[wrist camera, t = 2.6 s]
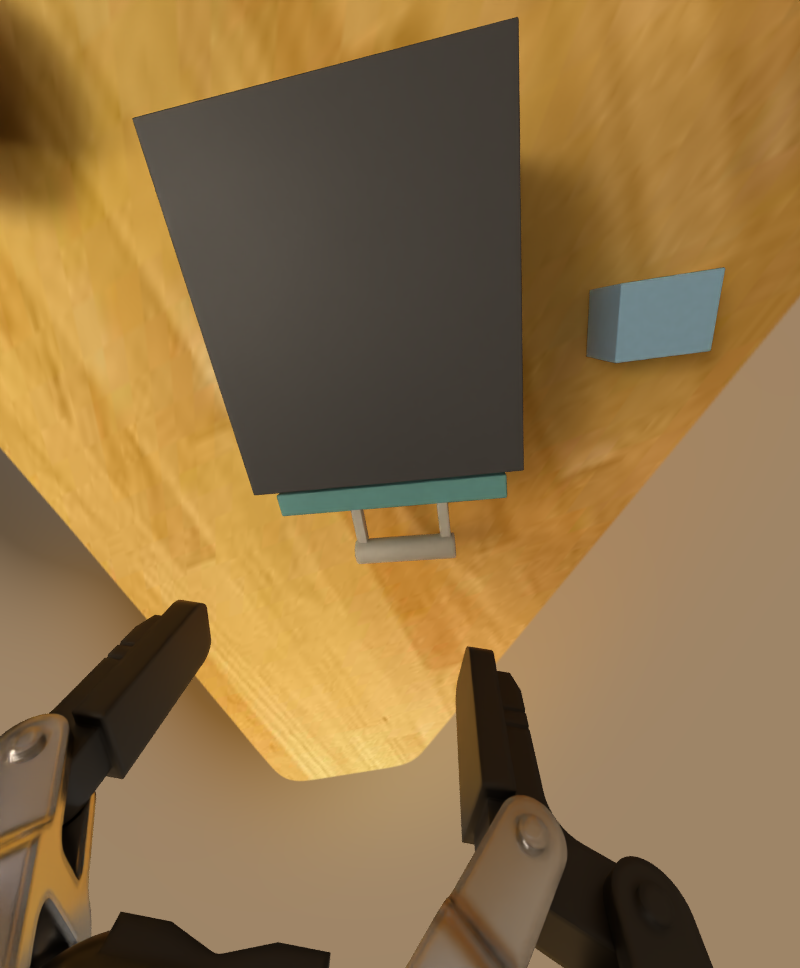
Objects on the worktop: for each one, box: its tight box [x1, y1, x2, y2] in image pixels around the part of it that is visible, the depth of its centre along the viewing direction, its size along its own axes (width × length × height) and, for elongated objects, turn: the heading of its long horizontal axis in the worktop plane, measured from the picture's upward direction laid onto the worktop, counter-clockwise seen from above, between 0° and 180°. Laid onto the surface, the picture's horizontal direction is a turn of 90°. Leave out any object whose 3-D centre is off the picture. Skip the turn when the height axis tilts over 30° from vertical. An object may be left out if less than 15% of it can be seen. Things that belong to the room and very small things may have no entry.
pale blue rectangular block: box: [586, 267, 725, 363], centre depth 19 cm, size 4×4×4 cm
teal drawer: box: [277, 472, 507, 564], centre depth 20 cm, size 18×11×7 cm, turn 8°
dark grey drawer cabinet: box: [133, 17, 524, 495], centre depth 18 cm, size 14×13×9 cm
